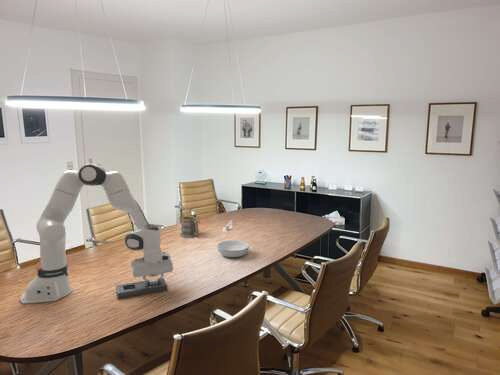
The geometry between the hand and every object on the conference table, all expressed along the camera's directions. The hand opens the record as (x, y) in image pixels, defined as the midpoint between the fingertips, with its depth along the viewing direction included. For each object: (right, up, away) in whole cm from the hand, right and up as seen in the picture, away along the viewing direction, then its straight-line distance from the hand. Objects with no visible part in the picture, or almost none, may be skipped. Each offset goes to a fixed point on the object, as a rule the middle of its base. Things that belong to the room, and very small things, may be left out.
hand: (153, 282), depth 191 cm
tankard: (+5, +11, +92) cm, 93 cm away
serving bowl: (+39, +4, +52) cm, 65 cm away
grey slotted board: (-5, -4, -2) cm, 7 cm away
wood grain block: (0, -4, +1) cm, 4 cm away
